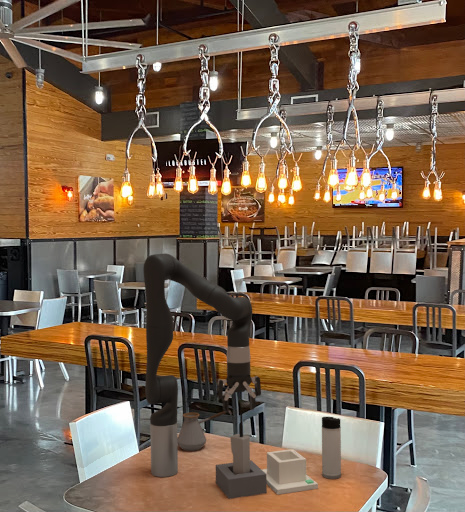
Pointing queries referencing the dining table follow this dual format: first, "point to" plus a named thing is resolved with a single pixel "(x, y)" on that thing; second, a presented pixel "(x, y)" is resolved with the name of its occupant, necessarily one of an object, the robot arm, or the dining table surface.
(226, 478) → the holster
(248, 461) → the vintage mobile phone
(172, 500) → the dining table surface
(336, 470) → the travel mug
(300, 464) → the charging dock
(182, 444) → the coffee pot
